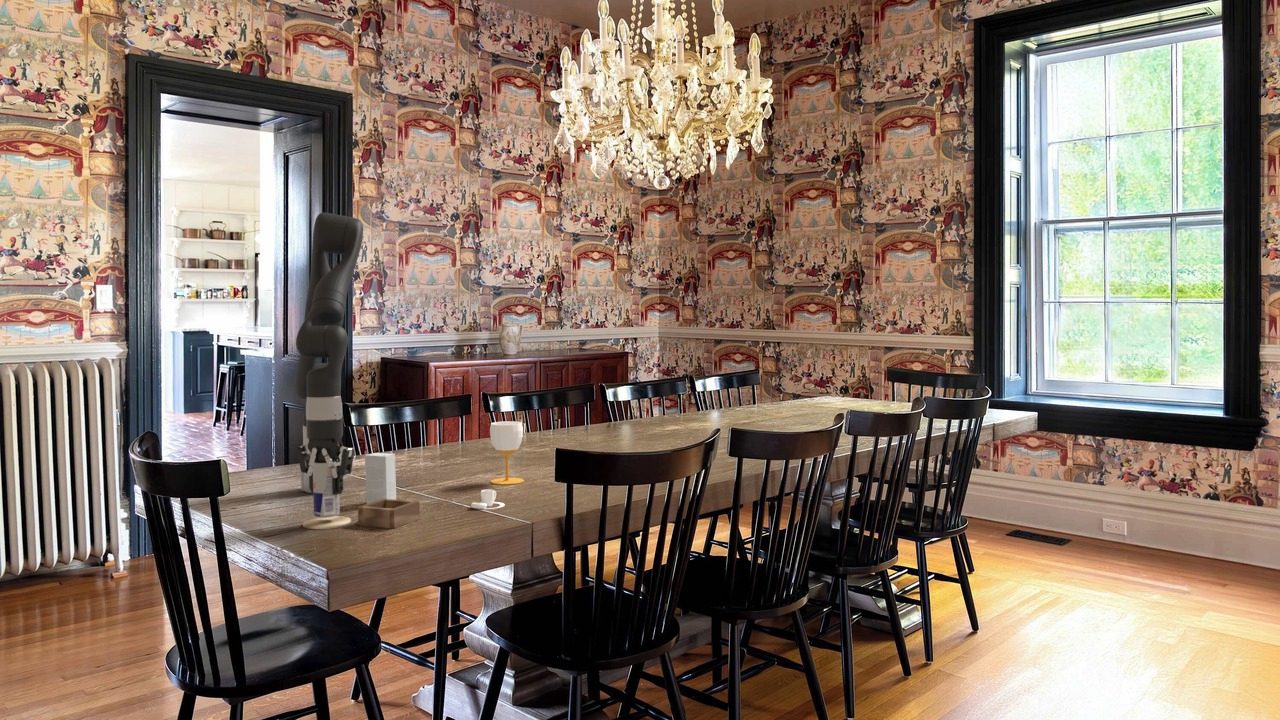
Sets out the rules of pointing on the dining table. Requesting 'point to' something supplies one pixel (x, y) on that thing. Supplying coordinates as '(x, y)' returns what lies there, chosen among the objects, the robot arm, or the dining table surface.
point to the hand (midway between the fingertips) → (326, 492)
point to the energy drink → (324, 492)
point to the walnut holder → (388, 513)
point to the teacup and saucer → (487, 500)
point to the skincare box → (380, 477)
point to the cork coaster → (327, 522)
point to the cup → (506, 445)
